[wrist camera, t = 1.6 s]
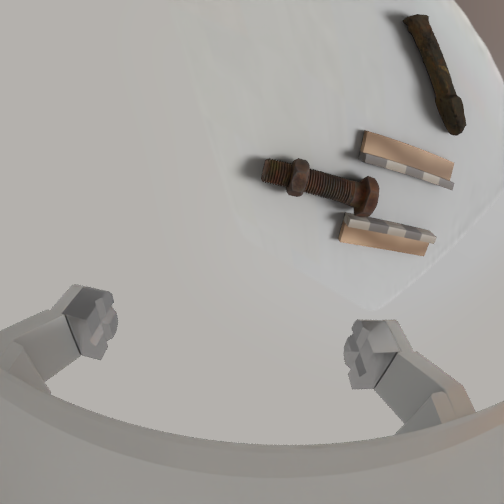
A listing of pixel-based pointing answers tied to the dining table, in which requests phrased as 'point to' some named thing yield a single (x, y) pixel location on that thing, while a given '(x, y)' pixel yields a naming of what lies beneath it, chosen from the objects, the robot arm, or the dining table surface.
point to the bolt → (323, 185)
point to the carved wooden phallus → (438, 74)
